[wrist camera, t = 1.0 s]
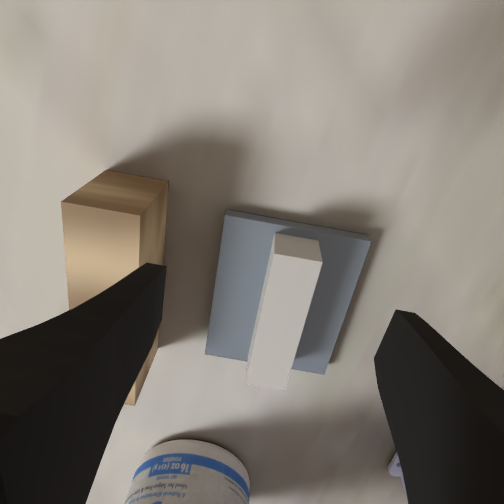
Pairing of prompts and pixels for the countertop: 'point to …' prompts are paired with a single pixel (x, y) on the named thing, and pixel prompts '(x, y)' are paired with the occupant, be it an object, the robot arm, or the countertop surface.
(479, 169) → the countertop surface
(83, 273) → the oak stick
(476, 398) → the robot arm
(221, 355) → the fulcrum stand
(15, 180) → the countertop surface
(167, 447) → the supplement tub
